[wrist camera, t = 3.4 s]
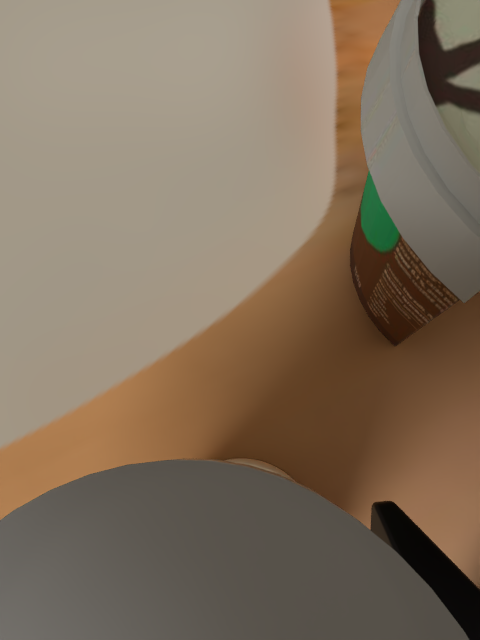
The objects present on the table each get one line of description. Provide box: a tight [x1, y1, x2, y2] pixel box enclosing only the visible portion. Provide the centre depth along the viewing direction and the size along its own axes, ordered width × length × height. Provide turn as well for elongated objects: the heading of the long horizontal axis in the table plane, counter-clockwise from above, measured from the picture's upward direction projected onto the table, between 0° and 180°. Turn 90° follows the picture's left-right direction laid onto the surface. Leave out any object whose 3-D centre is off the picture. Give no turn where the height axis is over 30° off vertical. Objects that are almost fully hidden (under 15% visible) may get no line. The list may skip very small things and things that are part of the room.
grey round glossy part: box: [0, 458, 469, 640], centre depth 9 cm, size 6×6×12 cm
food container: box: [350, 0, 480, 346], centre depth 13 cm, size 12×6×10 cm, turn 134°
